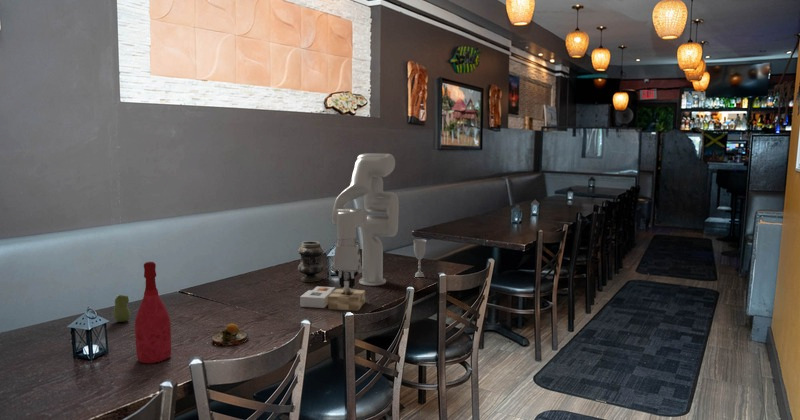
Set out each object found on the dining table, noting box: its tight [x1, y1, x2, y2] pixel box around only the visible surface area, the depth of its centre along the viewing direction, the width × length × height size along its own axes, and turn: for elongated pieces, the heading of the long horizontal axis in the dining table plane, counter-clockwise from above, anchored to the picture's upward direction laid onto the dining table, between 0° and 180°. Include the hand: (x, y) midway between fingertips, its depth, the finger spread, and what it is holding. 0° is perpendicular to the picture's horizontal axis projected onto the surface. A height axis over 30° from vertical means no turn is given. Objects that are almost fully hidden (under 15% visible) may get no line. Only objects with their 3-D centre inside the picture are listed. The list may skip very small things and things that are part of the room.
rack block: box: [327, 288, 366, 312], centre depth 225 cm, size 12×12×5 cm
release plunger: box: [319, 286, 327, 291], centre depth 236 cm, size 4×4×3 cm
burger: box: [210, 321, 249, 347], centre depth 186 cm, size 12×12×8 cm
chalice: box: [412, 238, 427, 278], centre depth 271 cm, size 7×7×18 cm
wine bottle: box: [134, 261, 172, 364], centre depth 168 cm, size 10×10×30 cm
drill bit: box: [342, 271, 352, 295], centre depth 224 cm, size 3×3×12 cm
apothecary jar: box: [297, 240, 324, 283], centre depth 265 cm, size 12×12×18 cm
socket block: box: [299, 285, 336, 309], centre depth 231 cm, size 18×10×4 cm, turn 170°
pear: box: [113, 294, 132, 323], centre depth 203 cm, size 6×5×10 cm
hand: (347, 286), depth 224 cm, fingers closed on drill bit, 3 cm apart
